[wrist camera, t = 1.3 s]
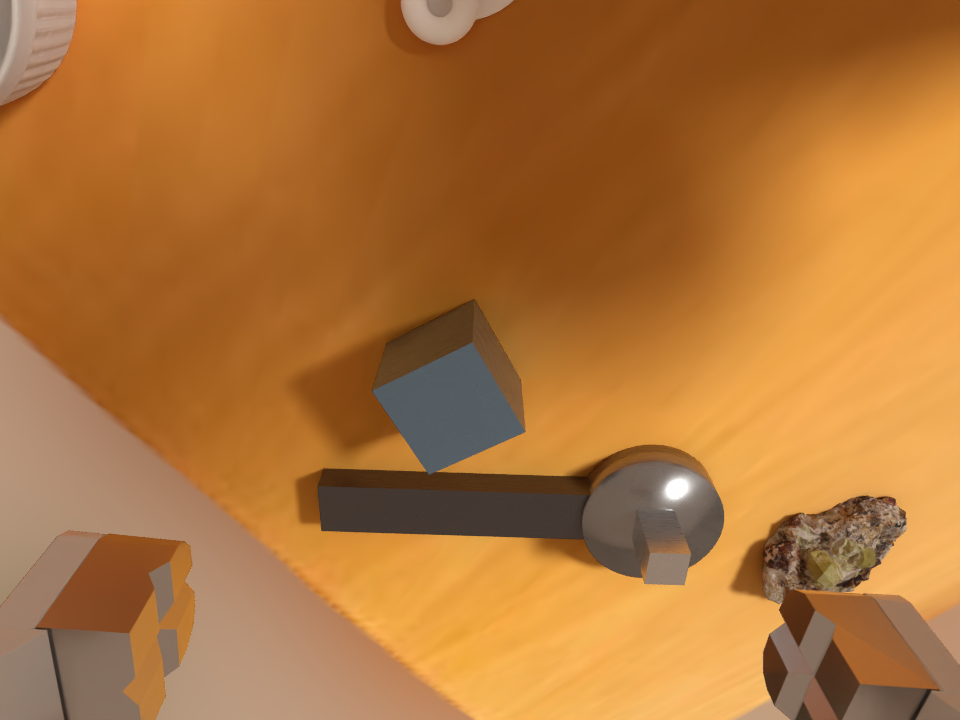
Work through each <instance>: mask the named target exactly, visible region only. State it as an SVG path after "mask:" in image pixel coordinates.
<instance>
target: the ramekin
mask: <svg viewBox="0 0 960 720" xmlns="http://www.w3.org/2000/svg"><path fill="white" fill-rule="evenodd" d="M76 11H77V2H76V0H0V106H2V105H4V104H7V103H10V102H12V101H14V100H16V99H18V98H20V97H23V96H25V95H26V94H28V93H29V92H31V91H33V90H35V89H36V88H38V87H39V86H40V85H42V83H43V82H44V81H45V80H47V79H49V78H50V77H51V76H52V74H53V73H54V71H55V70H56V69H57V68H58V67H59V66H60V64H61V62H62V60H63V58H64V56H65V55H66V54H67V52H68V48H69V45H70V43H71V40H72V38H73V32H74V27H75V24H76Z"/></svg>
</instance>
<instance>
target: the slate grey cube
mask: <svg viewBox="0 0 960 720" xmlns="http://www.w3.org/2000/svg"><path fill="white" fill-rule="evenodd" d="M372 392H373V394H374V395H375V396H376V398H377V399H378V401H379V402H380V404H381V405H382V407H383V408H384V410H385V411H386V413H387V414H388V415H389V417H390V418H391V420H392V421H393V423H394V424H395V426H396V427H397V429H398V430H399V432H400V433H401V434H402V436H403V437H404V439H405V440H406V442H407V443H408V445H409V446H410V448H411V449H412V451H413V452H414V453H415V455H416V456H417V458H418V459H419V461H420V462H421V464H422V465H423V467H424V468H425V470H426V471H427V472H428V474H429V475H430V474H432V473H434V472H436V471H439V470H441V469H443V468H445V467H448V466H450V465H452V464H454V463H457V462H459V461H461V460H463V459H466V458H468V457H470V456H472V455H475V454H477V453H479V452H481V451H484V450H486V449H488V448H490V447H493V446H495V445H497V444H499V443H502V442H504V441H506V440H509V439H511V438H513V437H515V436H518V435H520V434H522V433H524V432H525V421H524V410H523V399H522V388H521V379H520V378H519V376H518V374H517V373H516V371H515V369H514V367H513V366H512V364H511V362H510V360H509V359H508V357H507V355H506V353H505V352H504V350H503V348H502V346H501V345H500V343H499V341H498V339H497V338H496V336H495V334H494V332H493V331H492V329H491V327H490V325H489V324H488V322H487V320H486V318H485V317H484V315H483V313H482V312H481V310H480V308H479V306H478V305H477V303H476V301H475V299H474V300H472V301H470V302H468V303H466V304H464V305H462V306H460V307H458V308H456V309H454V310H452V311H450V312H448V313H446V314H444V315H442V316H440V317H438V318H436V319H434V320H432V321H430V322H428V323H426V324H424V325H422V326H420V327H418V328H416V329H414V330H412V331H410V332H408V333H406V334H404V335H402V336H400V337H398V338H396V339H394V340H392V341H390V342H388V343H387V344H386V347H385V350H384V353H383V357H382V360H381V363H380V366H379V370H378V373H377V376H376V379H375V382H374V386H373V389H372Z"/></svg>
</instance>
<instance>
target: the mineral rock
mask: <svg viewBox="0 0 960 720" xmlns="http://www.w3.org/2000/svg"><path fill="white" fill-rule="evenodd" d="M895 500H896V499H894V498H892V497H885V498H881V499H876V498H875V497H870V496H861V497H856V498H851V499H850V500H848V501H846V502H844V503H839V504H837V505H836V506H834V507H833V508H832V509H831V510H828V511H825V512H823V513H821V514H818V515H810V516H808V515H805V514H804V513H801V514H798V515H797V516H795V517H793V518H790V519H789V520H788V522H784V523H783V524H782V525H781V527H780V528H779V529H778V531H777V532H776V533H775V535H774V536H773V537H770V538H769V539H768V540H767V543H766V544H765V546H764V552H763V556H764V558H765V560H764V564H763V567H762V569H763V577H762V581H763V588H764V595H765V597H766V598H767V599H769V600H771V601H774V602H776V603H778V604H781V603H782V602H783V600H784V597H785V596H786V595H787V594H788V593H789V592H790V591H791V590H792V589H800V590H814V591H828V592H851V591H854V588H855V587H856V586H858V585H859V584H860V583H861V581H865V580H868V579H869V575H870V570H871V569H872V568H874V567H876V566H877V565H879V564H881V561H882V560H883V558H884V557H885V556H886V554H887V553H888V552H889V550H890V547H891V546H894V543H893V542H894V541H895V540H896V539H897V538H898V537H899V536H901V535H902V534H903V533H904V532H905V531H906V529H907V527H906V524H907V522H906V521H907V518H906V517H905V516H906V512H905V511H903V510H902V509H900V508H899V507H898V505H896V501H895Z"/></svg>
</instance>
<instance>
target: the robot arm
mask: <svg viewBox="0 0 960 720" xmlns="http://www.w3.org/2000/svg"><path fill="white" fill-rule="evenodd" d="M191 567H192V559H191V550H190V545H189V544H187V543H186V542H185V541H176V540H166V539H155V538H146V537H136V536H126V535H117V534H107V535H106V534H99V533H88V532H79V531H70V530H69V531H67V532H65V533H63V534H61V535H59V536H57V537H56V538H55V540H54V541H53V542H52V543H51V544H50V546H49V547H48V548H47V549H46V551H45V552H44V553H43V554H42V556H41V557H40V558H39V559H38V560H37V562H36V563H35V564H34V565H33V567H32V568H31V569H30V570H29V572H28V573H27V574H26V575H25V577H24V578H23V579H22V580H21V581H20V583H19V584H18V585H17V586H16V588H15V589H14V590H13V591H12V593H11V594H10V595H9V596H8V597H7V599H6V600H5V601H4V602H3V604H2V605H1V606H0V720H155V719H156V717H157V715H158V713H159V710H160V708H161V706H162V704H163V702H164V699H165V697H166V692H165V681H164V677H165V676H167V675H168V674H169V673H171V672H172V671H173V670H175V669H176V668H178V667H179V666H180V664H181V661H182V659H183V657H184V654H185V651H186V650H187V647H188V644H189V639H190V636H191V632H192V628H193V624H194V613H195V597H194V596H195V595H194V591H193V590H192V589H191V588H190V587H189V585H188V584H187V583H186V582H185V579H186V577H187V575H188V573H189V571H190V569H191ZM779 611H780V613H781V615H782V617H783V620H784V622H785V623H784V624H783V625H781V626H780V627H778V628H777V629H776V630H774V631H773V632H772V633H770V634H769V637H768V640H767V643H766V646H765V648H764V651H763V674H764V678H765V683H766V687H767V690H768V692H769V695H770V697H771V699H772V701H773V704H774V706H775V707H777V708H778V709H779V710H780V711H781V712H782V713H783V714H785V715H786V716H787V717H788V718H789V719H790V720H960V665H959V664H958V662H957V661H956V660H955V659H954V657H953V656H952V655H951V654H950V652H949V651H948V650H947V649H946V647H945V646H944V645H943V643H942V642H941V641H940V640H939V638H938V637H937V636H936V635H935V633H934V632H933V631H932V630H931V628H930V627H929V626H928V624H927V623H926V622H925V620H924V619H923V618H922V617H921V615H920V614H919V613H918V612H917V610H916V609H915V608H914V606H913V605H912V604H911V603H910V602H909V601H907V600H906V599H904V598H903V597H901V596H899V595H882V594H866V593H864V594H857V593H843V592H828V591H814V590H800V589H792V590H791V591H790V592H789V593H788V594H787V595H786V596H785V597H784V600H783V602H782V604H781V607H780V609H779Z"/></svg>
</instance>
